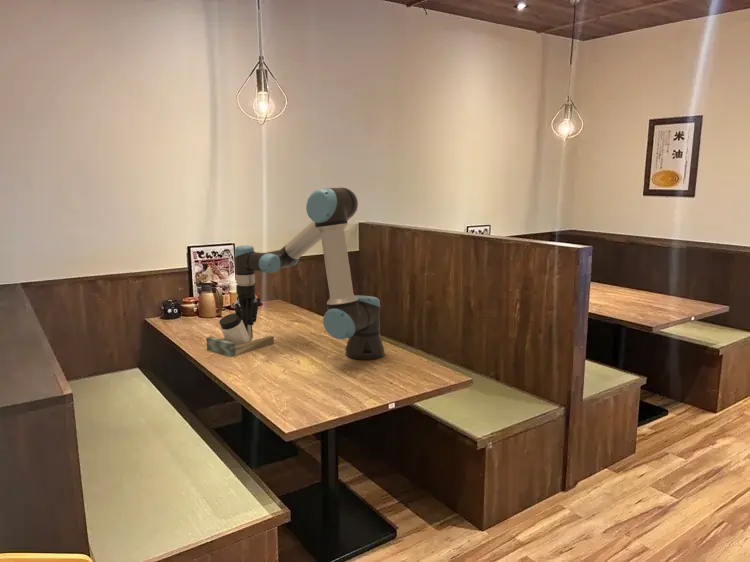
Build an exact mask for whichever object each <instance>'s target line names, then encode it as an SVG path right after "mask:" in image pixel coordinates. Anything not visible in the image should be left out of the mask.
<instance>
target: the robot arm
mask: <svg viewBox="0 0 750 562" xmlns="http://www.w3.org/2000/svg"><path fill="white" fill-rule="evenodd" d="M306 201H307V202H306V206H305V207H306V214H307V216H308V218H309V219H311V222H310V223H309V224H307V226H305V227H304V228H303V229H302V230H301V231H300V232H298V233H297V234H296V235H295V236H294V237H293V238H292V239H291V240H289V241H288V242H287V243H286V244H284V246H283V247H281V248H280V249H278V250H272V251H266V252H257V251H255V248H254V246H253V245H239V246H236V247H235V248H234V265H235V268H234V269H235V283H236V285H235V286H236V287H235V288H236V289H235V290H236V291H235V292H236V294H237V297H236V301H235V302H232V304H231V306H232V307H233V309H234V311H235V312H234V313H237V314H239V316H240V319H241V320H242V321H243V323H244V325H245V328H246V330H247V332H248V335H249V337H250V340H249V342H251V341H252V338H251V332H252V331H253V326H254V324H255V323H256V321H257V317H258V316H257V315H258V310H259V305H260V302H261V299H260V298H259V297H256V284H255V283H256V272H259V273H266V274H275V273H277V272H278V271H279V270H281V269H285V268H291V267H293V266H296V265H297V264H298V262H299V260H300V258H301V257H302V256H303V255H304V254H306V253H307V252H308V251H309V250H310V249H311V248H313V247H314V246H315V245H316V244H317V243H319V242H320V241H321V244H322V252H323V258H324V265H325V272H326V277H327V278H326V279H327V285H328V291H329V299H328V300H327V302H326V308H327V311H325V313H324V315H323V319H322V324H323V327H324V329H325V331H326V332H327V334H328V335H330V337H332V338H334V339H336V340H345V339H348V340H347V343H346V347H345V356H346V357H348V358H350V359H353V360H359V361H371V360H378V359H380V358H382V357H384V355H385V347H384V345H383V344H384V343H383V341H382V337H381V302H380V299H379V298H378V297H376V296H372V295H360V294H359V295H355V294H354V288H353V281H352V274H351V266H350V263H349V262H350V261H349V254H348V246H347V245H348V244H347V239H346V233H345V229H346V227H347V225H348V221H349V220H350V219H351V218H353V217H354V215H355V214H356V213H357V211H358V207H359V201H358V198H357V195H356V194H355V193H354V192H353V191H352V190H350V189H349V188H347V187H324V188H319V189H315V190H314V191H312V192H311V194H310V195H309V197H308V198H307V200H306Z"/></svg>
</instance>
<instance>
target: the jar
mask: <svg viewBox="0 0 750 562" xmlns="http://www.w3.org/2000/svg"><path fill="white" fill-rule="evenodd" d="M219 325H220V330H221V333H222V334H223V338H224V337H225V339H226V341H229V342H233V343H235V346H237V345H241V344H244V343H247V342H250V341H249V340H250V337H249V335H248V332H247V330H246V328H245V325H244V323H243V321H242V320H241V319H240V316H239V314H237V313H235V312H234V313H229V314H227V315H225V316H223V317H221V318H220V320H219Z"/></svg>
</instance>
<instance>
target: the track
mask: <svg viewBox="0 0 750 562" xmlns="http://www.w3.org/2000/svg"><path fill="white" fill-rule="evenodd" d="M274 337H275V336H273V335H268V336H264V337H261V338H259V339H254V340H251V341H249V342H247V343H244V344H241V345H237V346H235V343H233V342H229V341H226V339H225V337H224V336H223V337H221V338H218V337H215V336H207V337H206V339H205V340H206V350H208V351H210V352H214V353H217V354H221V355H224V356H227V357H230V358H231V357H232V358H233V357H234V356H238V355H241V354H245V353H248V352H251V350H252V351H254V349H255V350H258V349H262V348H263V347H267V345H268V346H271V345H274V344H275V341H274V339H275V338H274ZM253 338H254V331H253V330H252V332H251V339H253ZM257 348H258V349H257Z"/></svg>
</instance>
